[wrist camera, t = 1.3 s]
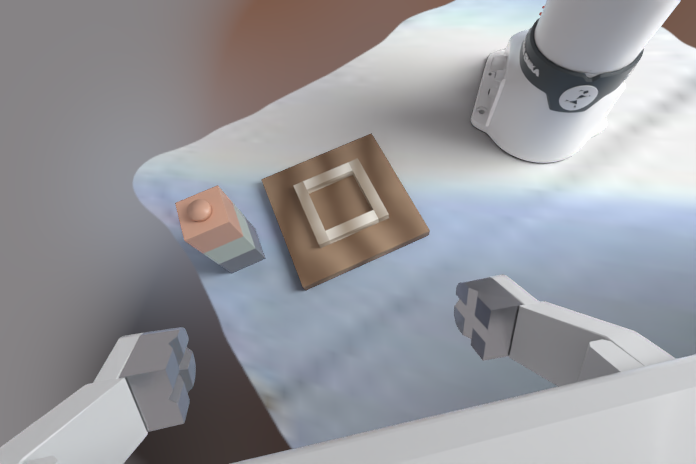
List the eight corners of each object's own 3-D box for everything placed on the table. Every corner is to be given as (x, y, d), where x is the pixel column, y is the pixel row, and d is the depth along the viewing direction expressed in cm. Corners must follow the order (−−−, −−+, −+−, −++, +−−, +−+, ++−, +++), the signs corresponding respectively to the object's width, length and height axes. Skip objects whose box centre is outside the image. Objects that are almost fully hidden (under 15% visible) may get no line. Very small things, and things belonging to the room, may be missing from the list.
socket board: (371, 139, 53) (371, 128, 51) (428, 235, 46) (431, 227, 43) (264, 184, 52) (258, 175, 49) (305, 290, 45) (300, 285, 42)
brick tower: (255, 228, 49) (214, 181, 37) (265, 258, 47) (226, 218, 35) (222, 242, 49) (171, 199, 37) (231, 273, 47) (180, 237, 35)
